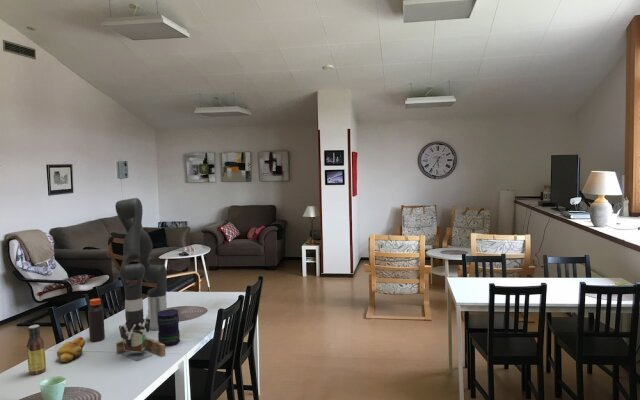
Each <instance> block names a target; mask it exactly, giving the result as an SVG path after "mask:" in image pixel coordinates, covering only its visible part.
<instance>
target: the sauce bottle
mask: <svg viewBox="0 0 640 400" xmlns="http://www.w3.org/2000/svg"><path fill="white" fill-rule="evenodd" d="M40 327H41V326H40V325H39V324H33V325H30V326H28V329H27V330H28V331H27V332H28V335H29V336H28V337H29V338H28V340H27V343H26V352H27V353H26V354H27V365H28V371H29V375H33V376H34V375H40V374H42V373H45V371H47V367H46V366H47V362H46V361H47V359H46V349H45V341H44V339H43V338H42V337H41V333H40V332H41V331H40V330H41V329H40Z"/></svg>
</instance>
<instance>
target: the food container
mask: <svg viewBox="0 0 640 400" xmlns="http://www.w3.org/2000/svg"><path fill="white" fill-rule="evenodd" d="M142 326H143V329H139V330H134V331H133V334H132V335H131V338H130V339H131V347H127V346H126V339H123V338H122V341H123V345H124V351H132V352H143V351H144V352H145V350H146V349H145V337H146V335H147V333H148V332H147V331H146V328H145V327H144V326H145V325H142ZM126 331H127V327H126V330H125V333H126ZM129 332H130V330H129Z"/></svg>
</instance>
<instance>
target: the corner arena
mask: <svg viewBox="0 0 640 400" xmlns="http://www.w3.org/2000/svg"><path fill="white" fill-rule="evenodd" d="M115 348H116V354H117V355H120V354H121V355H122V356H124V357H126V358H129V359H131V360H133V361H135V362H139V361H141V360H143V359H147V358H149V357H153V354H151V353H154V354H156V355H158V356H161V357H164V356H166V347H165V344H162V343H160V342H159V341H157V340H155V339H152V338H150V337H148V336H145V350H146V351H149V352H151V353H149V352H146V351H145V350H144V351H143V352H132V351H124V345H123V340H121V341H118V342H116V343H115Z"/></svg>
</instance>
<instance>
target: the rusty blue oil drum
mask: <svg viewBox="0 0 640 400" xmlns="http://www.w3.org/2000/svg"><path fill="white" fill-rule="evenodd" d="M179 319H180V316H179V310H178V309H174V308H172V309H171V308H170V309H168V308H167V310H162V311H160V312H158V313H157V321H158V323H157V324H158V328H159V330H158V333H157V338H158V342H160V343H162V344H165V348H167V347H173V346H176V345H179V343H180V342H181V341H180V339H181V338H180V336H181V335H180V329H179V328H180V327H179V325H180V324H179V323H180V320H179Z"/></svg>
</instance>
